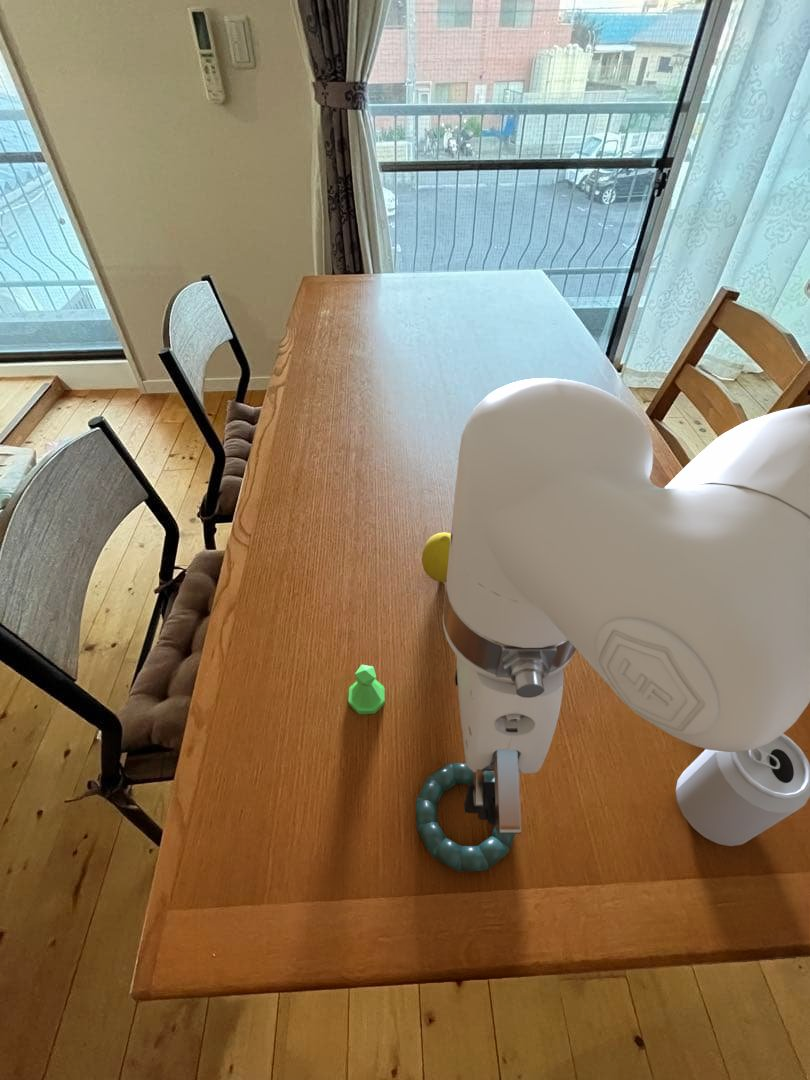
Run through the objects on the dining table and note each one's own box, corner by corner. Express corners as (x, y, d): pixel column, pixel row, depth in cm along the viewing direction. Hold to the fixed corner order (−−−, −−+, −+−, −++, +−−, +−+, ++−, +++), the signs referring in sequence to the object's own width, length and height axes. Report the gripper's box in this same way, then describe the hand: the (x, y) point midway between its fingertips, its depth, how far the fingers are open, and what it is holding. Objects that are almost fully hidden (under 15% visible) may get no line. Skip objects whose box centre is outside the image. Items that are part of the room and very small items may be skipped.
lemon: (433, 556, 77) (436, 515, 71) (469, 572, 75) (475, 531, 69) (413, 582, 74) (414, 541, 68) (450, 600, 72) (454, 559, 66)
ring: (535, 835, 53) (539, 828, 51) (453, 896, 49) (455, 892, 48) (475, 750, 58) (477, 742, 57) (397, 800, 55) (397, 793, 53)
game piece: (357, 675, 64) (354, 647, 60) (391, 687, 63) (391, 660, 59) (341, 707, 61) (337, 680, 57) (376, 721, 60) (375, 694, 56)
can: (756, 861, 51) (830, 820, 43) (672, 832, 53) (726, 787, 44) (750, 782, 56) (815, 731, 48) (672, 758, 58) (722, 704, 49)
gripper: (627, 770, 24) (549, 870, 36) (553, 499, 36) (513, 644, 48) (454, 770, 24) (435, 869, 36) (437, 498, 36) (427, 644, 48)
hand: (479, 741), depth 42 cm, fingers open, 9 cm apart
